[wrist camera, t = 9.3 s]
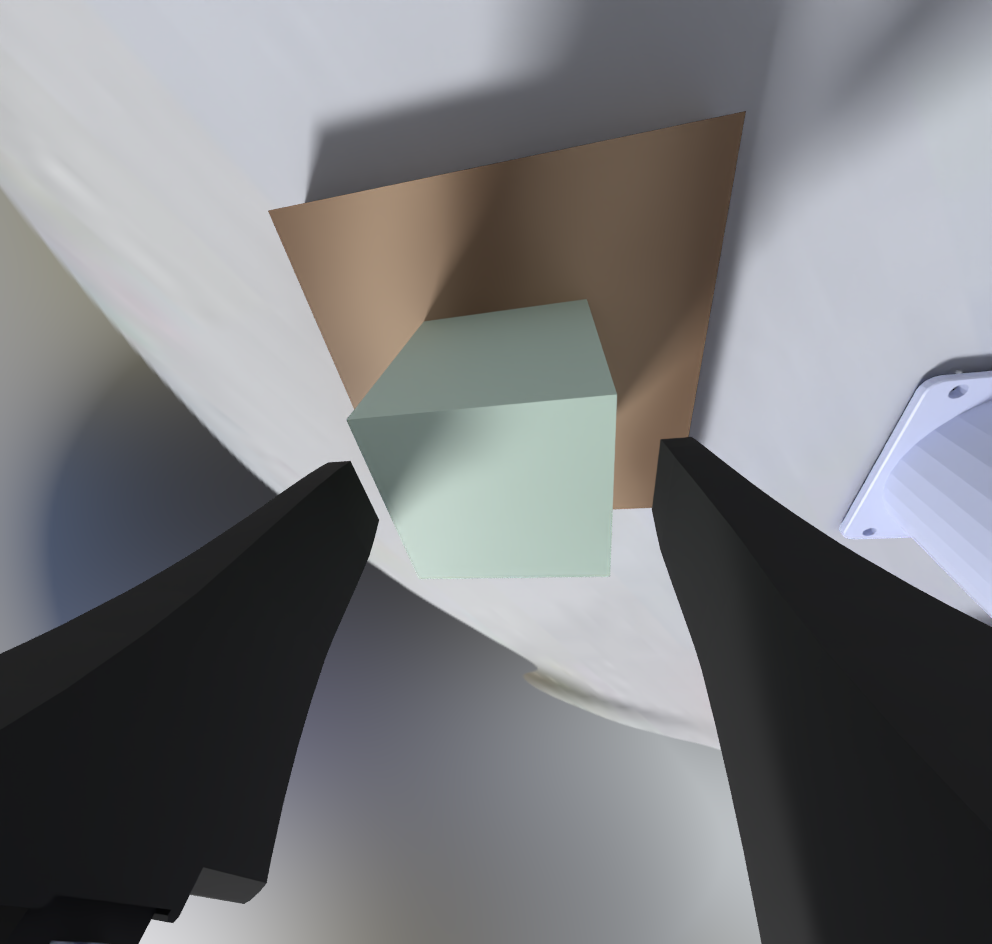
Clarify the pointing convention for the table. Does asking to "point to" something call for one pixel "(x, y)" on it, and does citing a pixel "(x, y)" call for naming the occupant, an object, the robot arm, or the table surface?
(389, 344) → the walnut base
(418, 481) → the sage block
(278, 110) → the table surface
